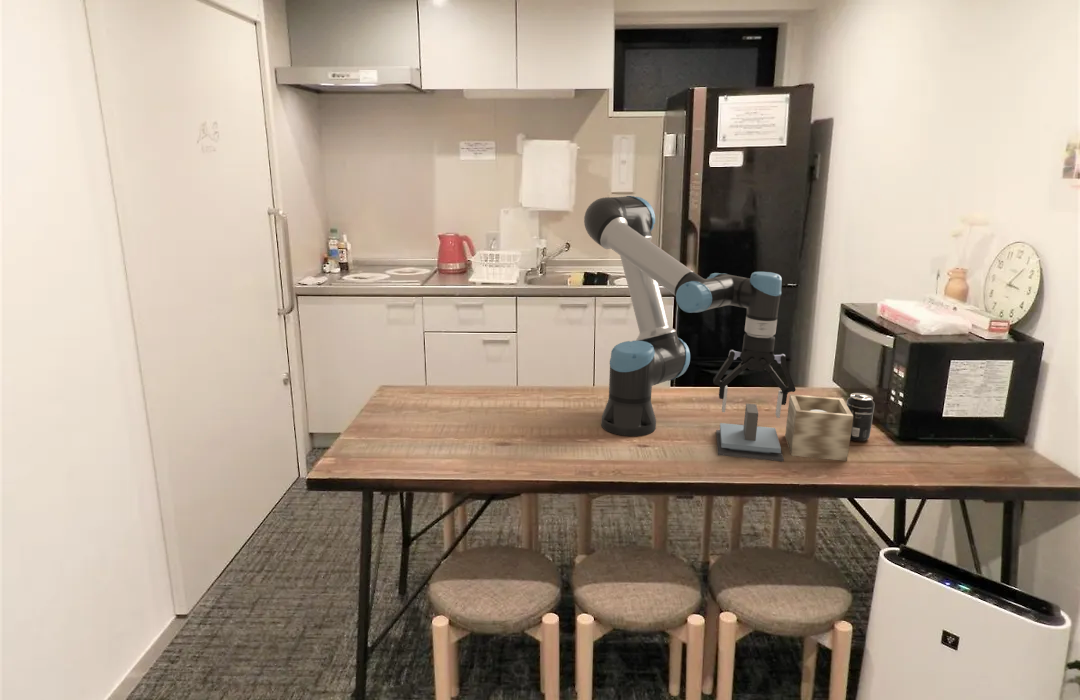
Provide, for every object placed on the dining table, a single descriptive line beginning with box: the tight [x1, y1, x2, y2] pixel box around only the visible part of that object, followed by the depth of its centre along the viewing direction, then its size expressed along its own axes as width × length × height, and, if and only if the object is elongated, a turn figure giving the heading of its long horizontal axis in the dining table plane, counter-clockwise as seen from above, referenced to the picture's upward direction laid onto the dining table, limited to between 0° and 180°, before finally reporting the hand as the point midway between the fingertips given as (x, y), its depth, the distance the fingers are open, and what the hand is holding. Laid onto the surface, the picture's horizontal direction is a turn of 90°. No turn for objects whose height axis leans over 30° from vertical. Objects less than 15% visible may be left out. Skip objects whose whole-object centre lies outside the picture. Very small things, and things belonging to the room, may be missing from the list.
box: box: [784, 393, 853, 462], centre depth 185 cm, size 13×13×12 cm
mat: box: [715, 429, 785, 462], centre depth 187 cm, size 16×16×1 cm
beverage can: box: [846, 392, 875, 442], centre depth 192 cm, size 7×7×12 cm
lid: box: [719, 403, 782, 453], centre depth 186 cm, size 14×14×10 cm
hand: (750, 413), depth 185 cm, fingers open, 13 cm apart
